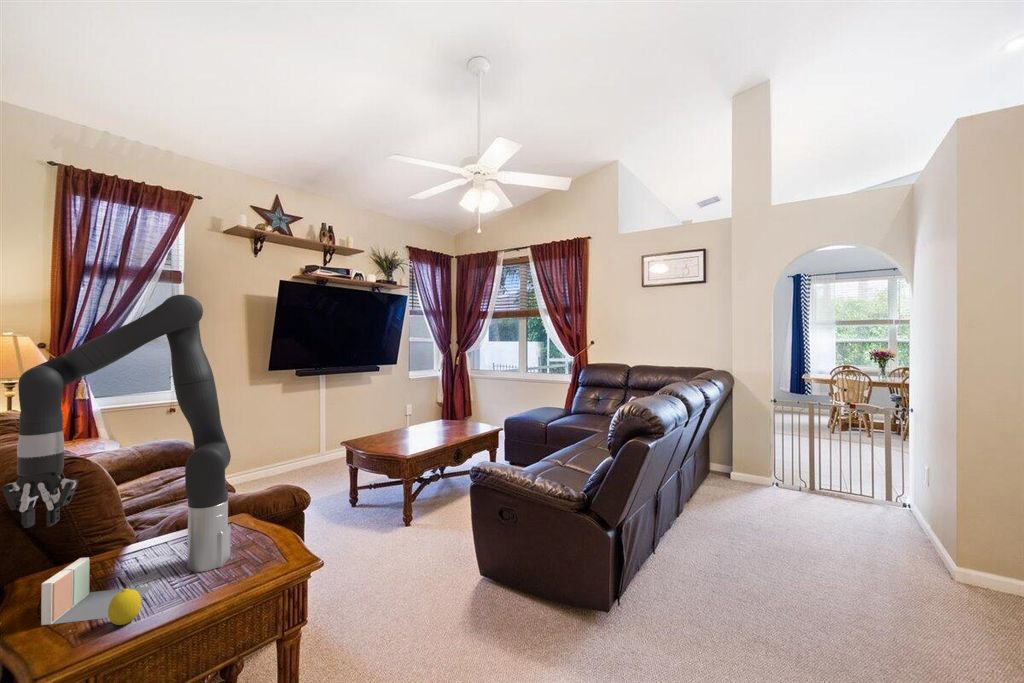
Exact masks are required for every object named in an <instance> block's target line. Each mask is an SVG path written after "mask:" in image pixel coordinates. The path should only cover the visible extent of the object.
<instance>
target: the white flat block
mask: <svg viewBox="0 0 1024 683" xmlns="http://www.w3.org/2000/svg"><path fill="white" fill-rule="evenodd" d="M63 570H71V608H72V607H73V606H75V605H76V604H77V603H78V602H80V601H81V600H82V599H83V598H85V597H86V596H87V595H88V594H89V592H90V557H79V558H78V559H77V560H75V561H74V562H72V563H71V564H69V565H67V566H66V567H64V568H63V569H62V571H63Z"/></svg>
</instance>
